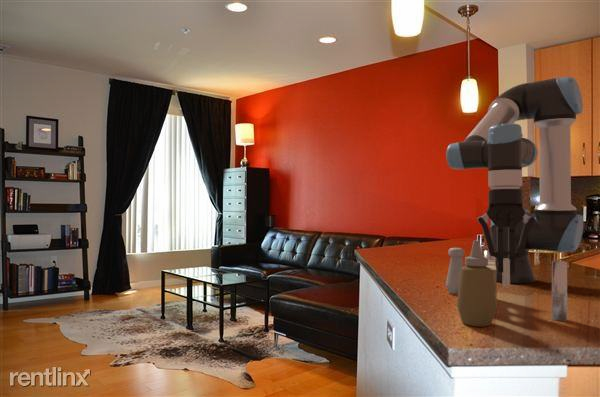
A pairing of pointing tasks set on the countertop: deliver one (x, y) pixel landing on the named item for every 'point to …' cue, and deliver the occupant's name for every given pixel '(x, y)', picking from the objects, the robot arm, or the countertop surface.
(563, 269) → the gateposts
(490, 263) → the gate
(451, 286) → the salt shaker
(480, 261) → the squeeze bottle
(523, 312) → the countertop surface
